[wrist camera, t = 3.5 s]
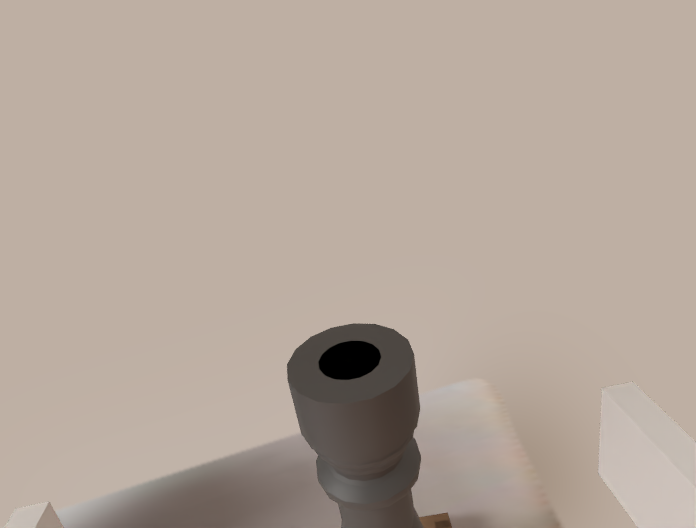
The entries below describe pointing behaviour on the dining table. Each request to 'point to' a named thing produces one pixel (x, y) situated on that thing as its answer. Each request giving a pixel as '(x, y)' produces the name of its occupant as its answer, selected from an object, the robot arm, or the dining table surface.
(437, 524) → the walnut caddy
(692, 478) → the robot arm
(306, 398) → the candle holder
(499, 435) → the dining table surface
